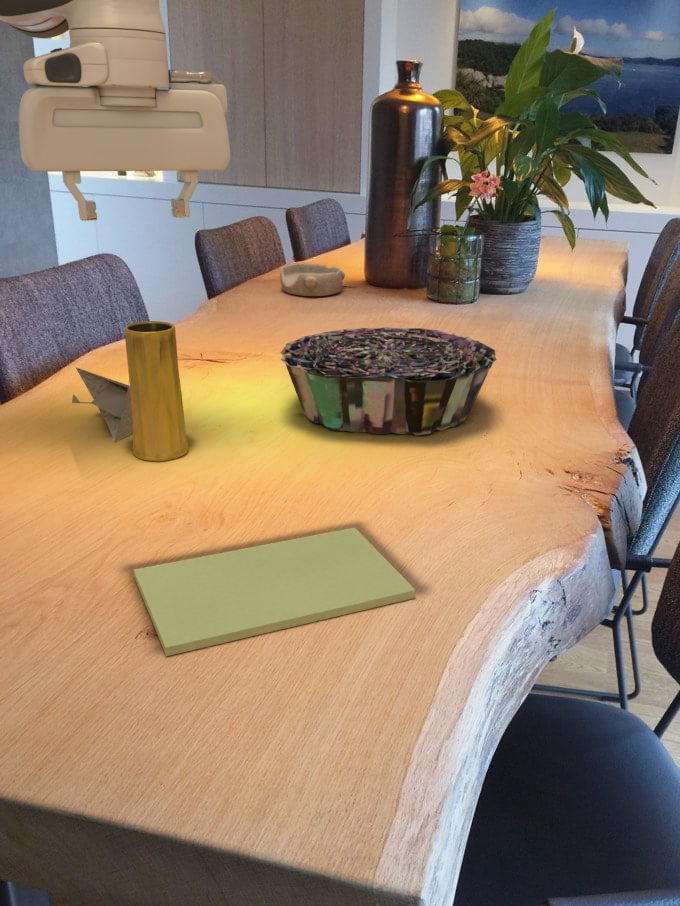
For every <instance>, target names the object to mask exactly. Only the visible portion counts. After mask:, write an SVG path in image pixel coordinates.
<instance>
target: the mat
mask: <svg viewBox="0 0 680 906" xmlns="http://www.w3.org/2000/svg"><path fill="white" fill-rule="evenodd" d="M133 578H134V580H135V583H136V585H137V588H138V590H139V593H140V595H141V597H142V600H143V603H144V606H145V607H146V610H147V612H148V614H149V618H150V619H151V623H152V625H153V627H154V629H155V632H156V635H157V637H158V640H159V642H160V645H161V647H162V650H163V652H164V654H165V656H166V657H170V656H175V655H178V654H182V653H188V652H193V651H197V650H200V649H204V648H209V647H213V646H216V645H221V644H225V643H230V642H235V641H238V640H243V639H247V638H251V637H255V636H260V635H264V634H268V633H272V632H276V631H281V630H284V629H290V628H293V627H298V626H302V625H307V624H310V623H314V622H319V621H323V620H327V619H333V618H335V617H340V616H344V615H350V614H352V613H353V614H354V613H358V612H362V611H367V610H370V609H376V608H379V607H383V606H388V605H391V604H396V603H400V602H404V601H409V600H413V599H416V593H417V591H416V590H417V589H416V588H415V587H414V586H413V585H411V584H410V582H409V581H408V580H407V579H406V578H405V577H404V576H403V575H402V574H401V573H400V572H399V571H398V570H397V569H396V567H394V566H393V565H392V564H391V563H390V561H388V559H386V558H385V556H383V554H381V552H380V551H379V550H378V549H377V548H376V547H375V546H374V545H373V544H372V543H371V542H370V541H369V540H368V539H367V538H366V536H364V535H363V534H362V533H361V531H359V529H357V528H356V527H350V528H345V529H344V528H343V529H339V530H334V531H329V532H324V533H323V532H322V533H319V534H313V535H309V536H302V537H297V538H292V539H287V540H282V541H277V542H271V543H266V544H260V545H255V546H250V547H244V548H240V549H235V550H228V551H224V552H219V553H218V552H217V553H214V554H208V555H203V556H198V557H192V558H187V559H182V560H176V561H171V562H166V563H161V564H156V565H151V566H145V567H140V568H135V569H133Z"/></svg>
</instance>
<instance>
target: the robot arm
mask: <svg viewBox="0 0 680 906" xmlns="http://www.w3.org/2000/svg"><path fill="white" fill-rule="evenodd" d="M0 21H1V22H3V23H5V24H7V25H8V26H9V27H10V28H12V29H14V30H15V31H17V32H19V33H20V34H23V35H26V36H28V37H31V38H37V39H50V38H55V37H59V36H61V35H63V34H65V33H67V32H68V33H69V42H70V43H69V46H68V47H65V48H62V47H59V48H58V47H57V48H54V49H52V50H50V51H49V53H44V54H41V55H38V56H34V57H32V58H29V59H27V60H26V61H25V62H24V64H23V76H24V79H25V81H26V82H27V84H28V85H30V86H33V87H30V88H29V89H27V90H26V91H25V92H24V93H23V94H22V97H21V100H20V103H19V108H18V138H19V148H20V154H21V155H20V156H21V161H22V162H23V164H24V165H25V166H26V167H27V168H28V169H30V170H31V171H32V172H34V173H35V172H36V173H42V172H44V173H49V172H50V173H51V172H55V173H56V172H59V173H60V172H61V174H62V180H63V181H62V182H63V184H64V186H65V187H66V189H67V190H68V191H69V192H70V194H71V195H72V197H73V199H74V200H75V201H76V202H77V209H78V215H79V219H80V221H81V222H82V221H83V222H85V221H86V222H88V221H97V220H98V213H97V212H96V210H97V204H96V201H94V200H91V199H90V200H87V199H86V198H85V196H84V194H83V193H82V192H81V191H80V189H79V188H78V186H77V185H80V184H82V176H81V172H160V171H161V172H162V171H163V172H164V171H167V172H168V171H169V172H171V171H172V172H173V171H174V172H175V171H176V172H177V171H178V175H179V181H181V182H183V185H182V188H181V190H180V192H179V195H178V197H177V198H170V205H171V207H172V208H171V215H172V217H174V218H190V216H191V212H190V200H191V199H192V196H193V195H194V192H195V190H196V188H197V186H198V185H199V172H198V171H225V170H226V168H227V167H228V165H229V164H230V162H231V161H232V160H231V159H232V157H231V155H232V154H231V145H230V138H229V131H228V126H227V120H226V115H227V113H228V108H229V107H228V92H227V88H226V86H225V84H224V82H223V81H222V80H221V79H220V78H218V77H216V76H214V75H213V74H212V72H210V71H205V70H199V71H189V70H183V69H169V60H168V59H169V57H168V47H167V46H168V45H167V34H166V27H165V25H164V21H163V19H162V15H161V9H160V0H0ZM213 82H214V83H213Z"/></svg>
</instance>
